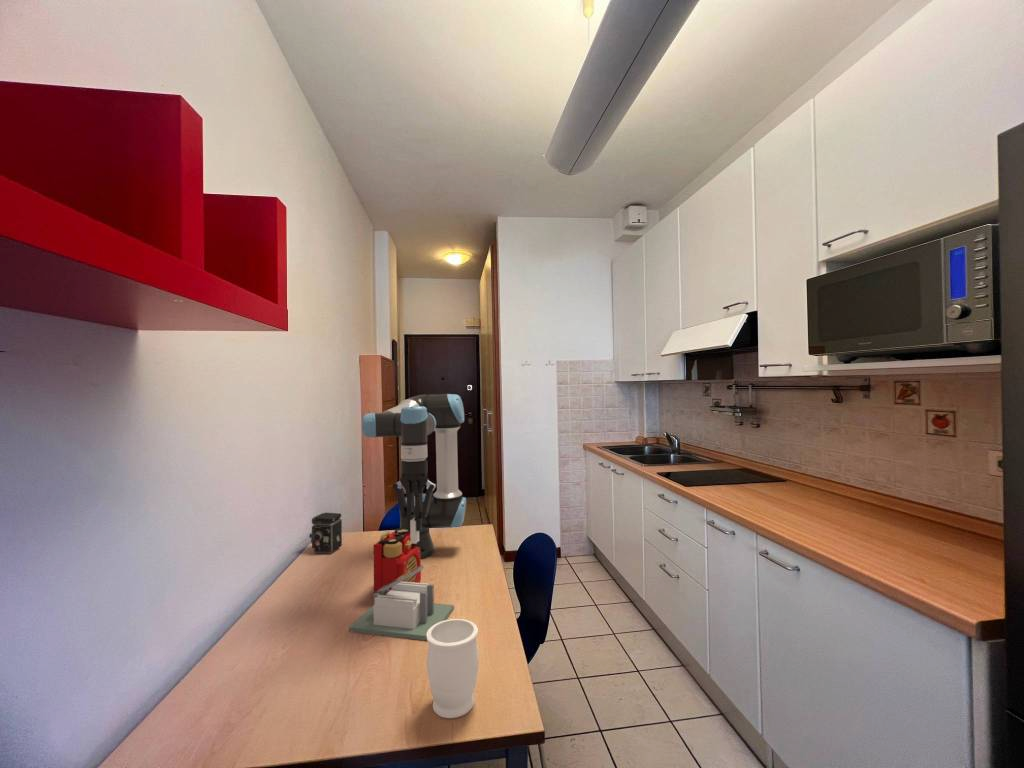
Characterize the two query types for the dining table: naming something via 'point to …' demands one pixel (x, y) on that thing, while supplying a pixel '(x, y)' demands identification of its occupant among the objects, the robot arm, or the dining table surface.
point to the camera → (326, 532)
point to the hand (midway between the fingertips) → (414, 541)
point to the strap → (400, 579)
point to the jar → (452, 666)
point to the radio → (395, 558)
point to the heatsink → (403, 612)
